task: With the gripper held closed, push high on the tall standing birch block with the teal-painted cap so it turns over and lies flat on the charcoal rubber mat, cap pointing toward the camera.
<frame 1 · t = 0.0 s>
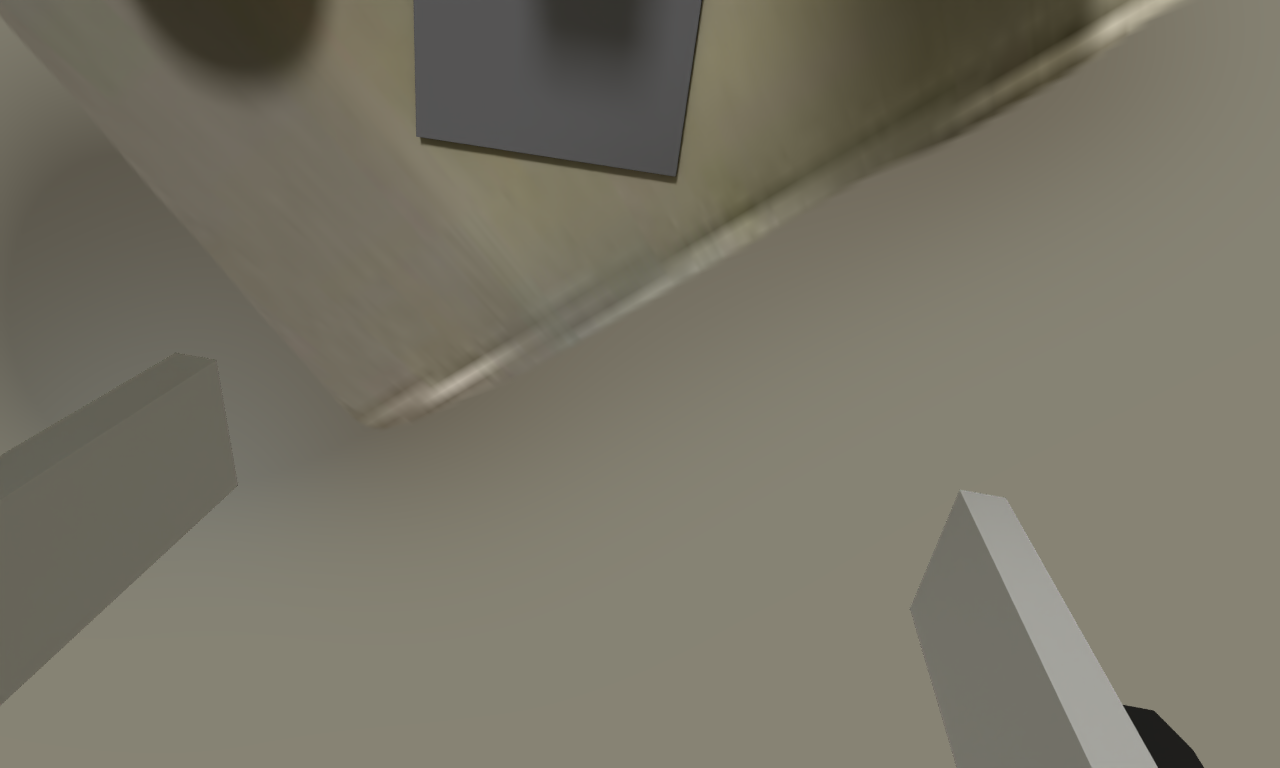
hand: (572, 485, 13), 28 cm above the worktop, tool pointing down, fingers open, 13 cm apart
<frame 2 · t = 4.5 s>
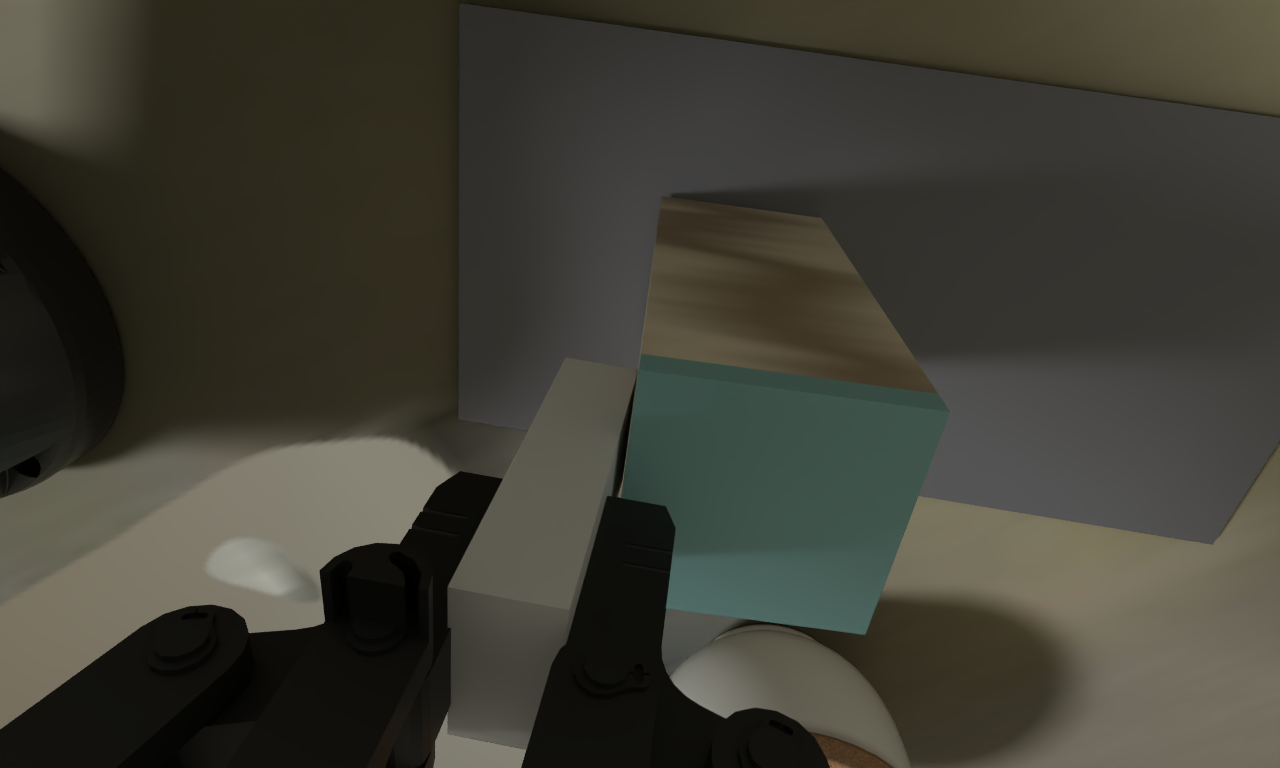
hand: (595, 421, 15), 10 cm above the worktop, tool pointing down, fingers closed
lidded jar: (765, 669, 32), on the worktop
rubber mat: (877, 301, 23), on the worktop
birch block: (727, 283, 23), point 1 cm above the worktop, touching gripper, rubber mat
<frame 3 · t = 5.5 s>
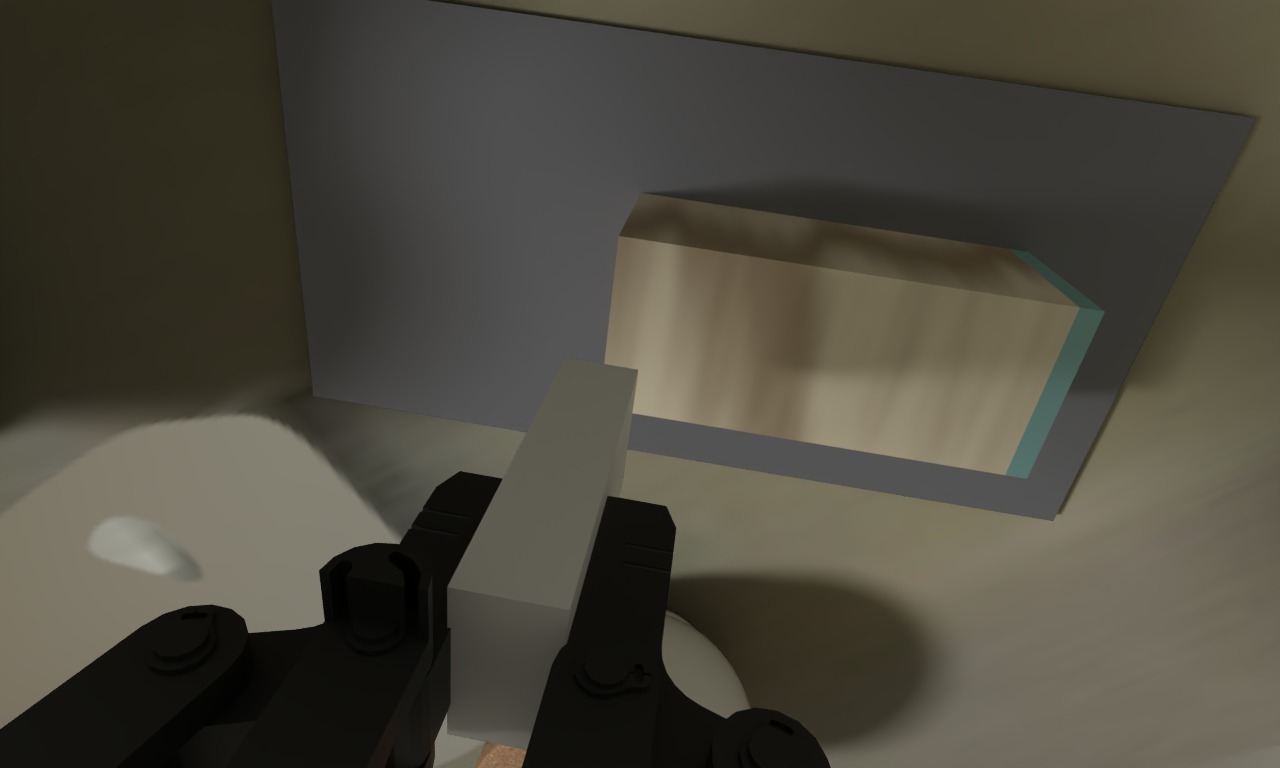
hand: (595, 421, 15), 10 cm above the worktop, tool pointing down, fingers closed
lidded jar: (640, 649, 32), on the worktop
rubber mat: (706, 276, 24), on the worktop
birch block: (621, 294, 21), point 3 cm above the worktop, tilted 90°, touching rubber mat
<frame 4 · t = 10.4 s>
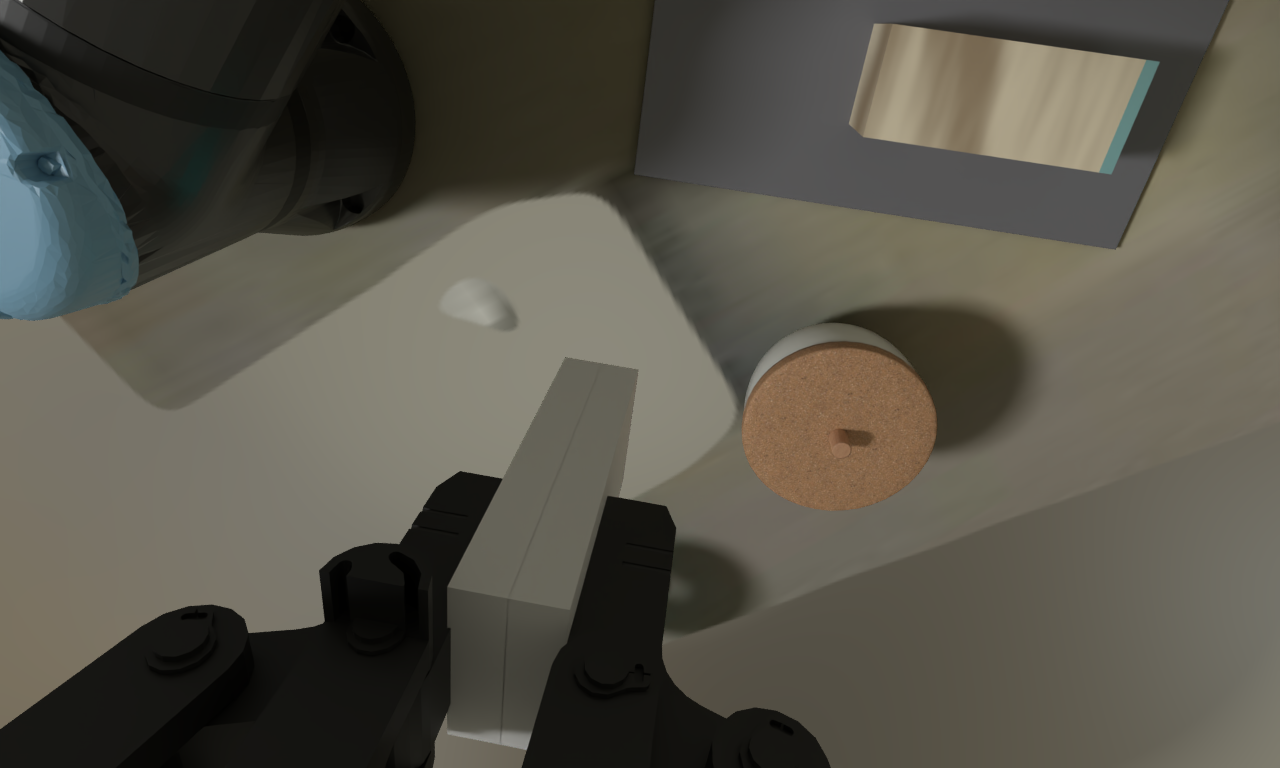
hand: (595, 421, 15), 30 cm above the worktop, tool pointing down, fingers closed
lidded jar: (822, 373, 47), on the worktop
rubber mat: (905, 81, 38), on the worktop
birch block: (868, 78, 36), point 3 cm above the worktop, tilted 90°, touching rubber mat
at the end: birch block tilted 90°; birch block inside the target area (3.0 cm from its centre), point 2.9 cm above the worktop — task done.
